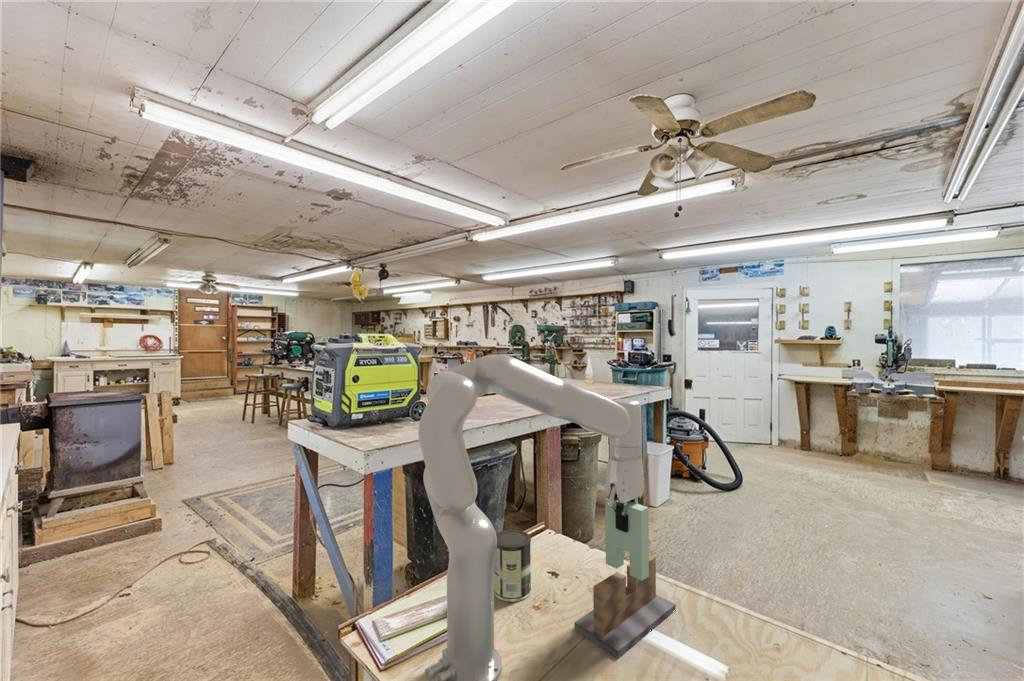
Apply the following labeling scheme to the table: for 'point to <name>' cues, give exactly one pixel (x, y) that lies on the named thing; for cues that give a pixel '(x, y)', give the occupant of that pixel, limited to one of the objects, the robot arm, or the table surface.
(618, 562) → the green slat
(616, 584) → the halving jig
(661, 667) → the table surface
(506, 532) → the coffee can
